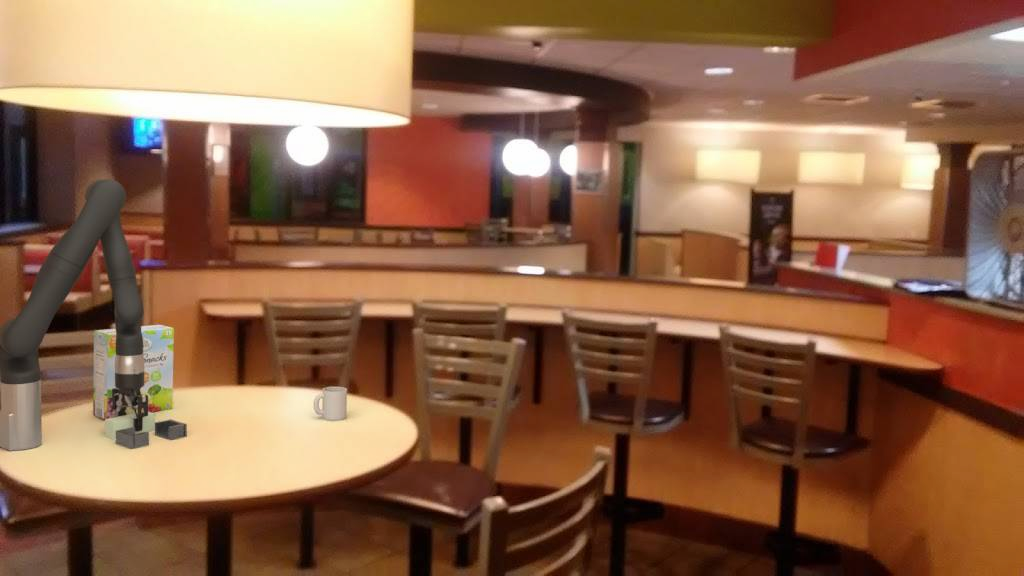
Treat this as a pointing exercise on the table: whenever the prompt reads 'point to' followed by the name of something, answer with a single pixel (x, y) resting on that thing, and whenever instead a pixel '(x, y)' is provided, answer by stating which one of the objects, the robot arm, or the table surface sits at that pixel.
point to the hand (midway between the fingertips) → (130, 428)
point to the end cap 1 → (131, 438)
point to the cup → (332, 403)
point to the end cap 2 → (170, 429)
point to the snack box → (155, 370)
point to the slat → (128, 424)
